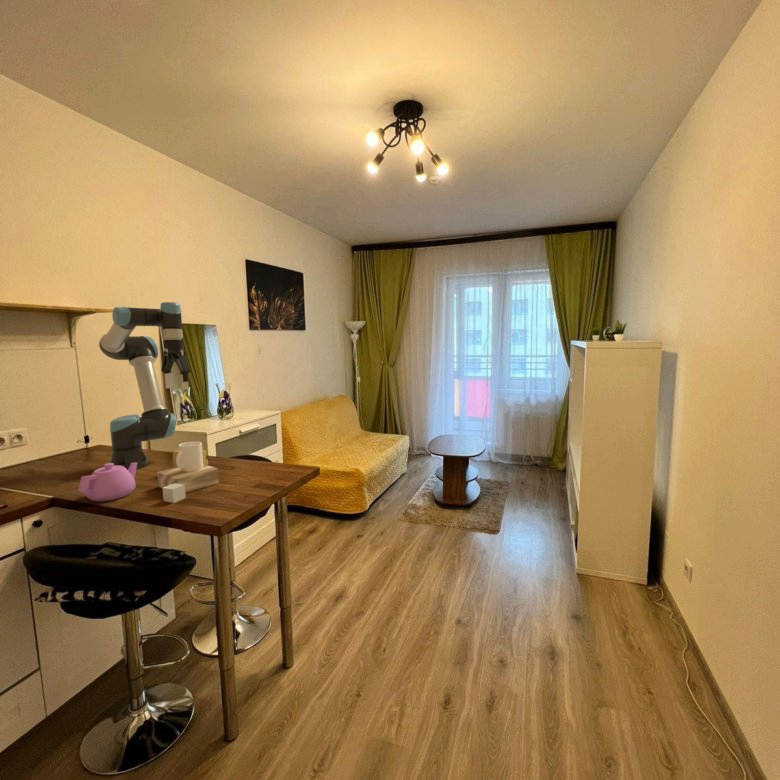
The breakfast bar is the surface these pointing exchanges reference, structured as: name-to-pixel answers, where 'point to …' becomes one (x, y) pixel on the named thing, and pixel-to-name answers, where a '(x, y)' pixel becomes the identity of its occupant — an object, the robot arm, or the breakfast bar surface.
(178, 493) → the beige block
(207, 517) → the breakfast bar surface
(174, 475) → the oak block
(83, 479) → the teapot
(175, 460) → the cheese
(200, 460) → the mug
